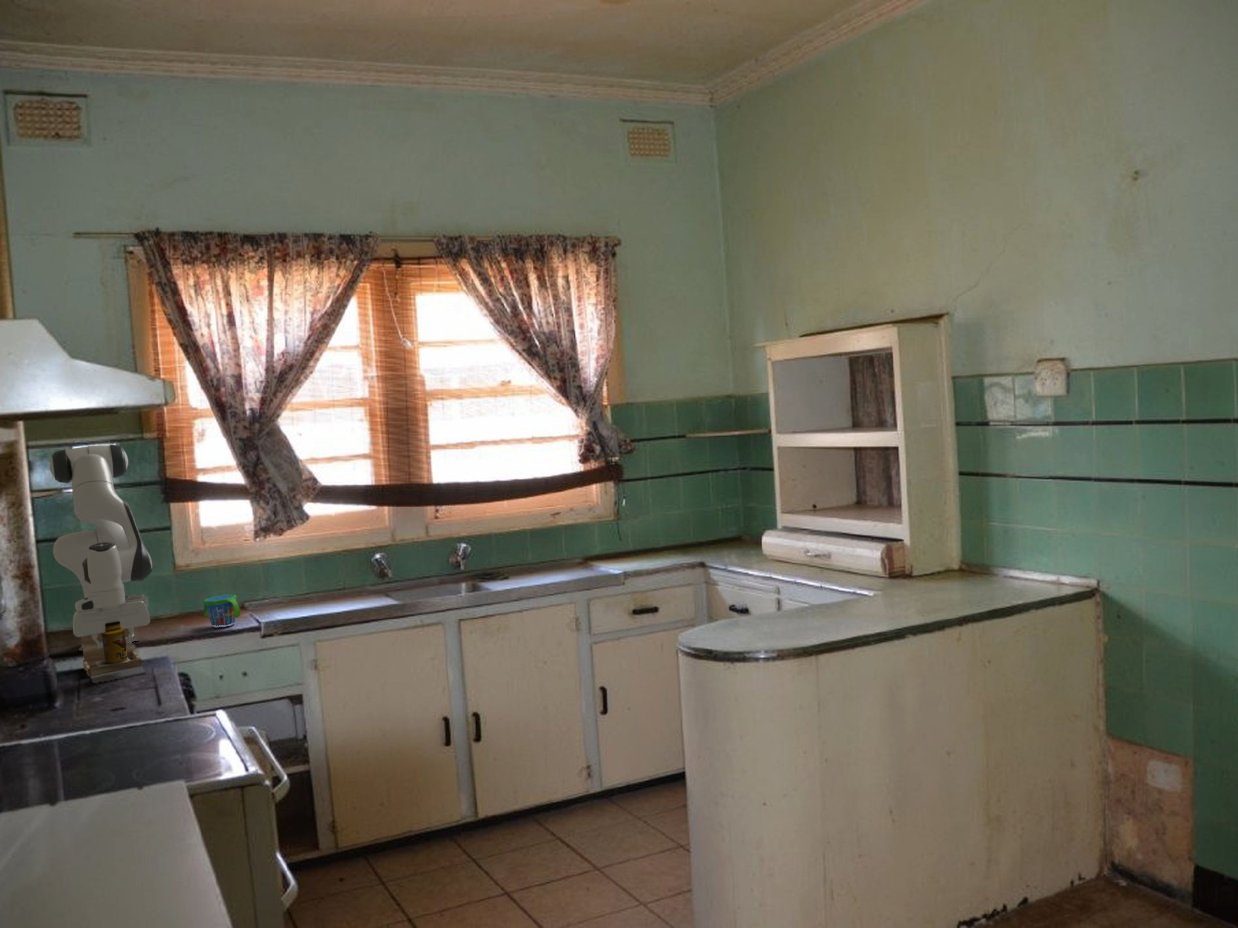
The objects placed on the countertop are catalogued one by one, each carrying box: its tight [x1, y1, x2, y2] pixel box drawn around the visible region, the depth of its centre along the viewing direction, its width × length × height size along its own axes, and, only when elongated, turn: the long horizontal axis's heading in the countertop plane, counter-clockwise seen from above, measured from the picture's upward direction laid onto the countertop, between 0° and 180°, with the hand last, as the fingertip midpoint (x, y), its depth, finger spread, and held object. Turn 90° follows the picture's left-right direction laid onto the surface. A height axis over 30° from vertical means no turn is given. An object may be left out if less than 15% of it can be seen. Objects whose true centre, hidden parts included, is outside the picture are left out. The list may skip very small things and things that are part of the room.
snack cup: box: [203, 594, 241, 626], centre depth 382 cm, size 16×10×10 cm
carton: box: [80, 629, 143, 677], centre depth 333 cm, size 16×15×10 cm
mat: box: [89, 665, 147, 684], centre depth 321 cm, size 9×14×1 cm, turn 121°
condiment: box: [96, 621, 131, 667], centre depth 320 cm, size 7×8×12 cm
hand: (114, 646), depth 320 cm, fingers closed on condiment, 6 cm apart
